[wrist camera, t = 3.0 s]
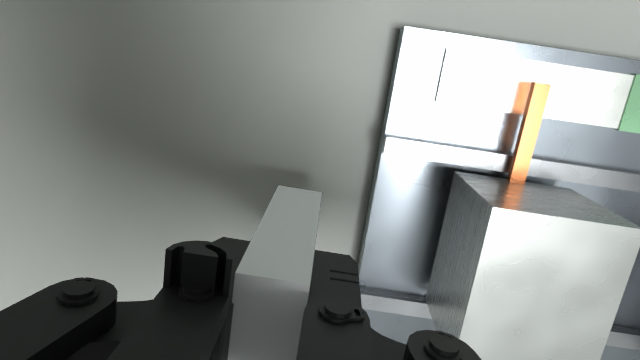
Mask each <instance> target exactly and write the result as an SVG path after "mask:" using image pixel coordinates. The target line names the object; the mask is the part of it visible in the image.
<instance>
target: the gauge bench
mask: <svg viewBox="0 0 640 360" xmlns="http://www.w3.org/2000/svg"><path fill="white" fill-rule="evenodd" d="M532 82H537V83H543V84H550V85H551V88H550V91H549V95H548V99H547V102H546V106H545V110H544V114H543V117H542V121H541V125H540V128H539V132H538V136H537V140H536V143H535V147H534V151H533V154H532V158H531V162H530V166H529V169H528V173H527V177H526V180H525V182H531V183H538V184H544V185H551V186H558V187H564V188H570V189H572V190H574V191H576V192H577V193H579V194H581V195H583V196H585V197H586V198H588V199H590V200H592V201H594V202H596V203H597V204H599V205H601V206H603V207H605V208H607V209H608V210H610V211H612V212H614V213H616V214H618V215H619V216H621V217H623V218H625V219H627V220H629V221H630V222H632V223H634V224H636V225H638V226H640V61H639V60H632V59H625V58H618V57H612V56H605V55H598V54H591V53H584V52H578V51H571V50H564V49H557V48H551V47H544V46H537V45H530V44H524V43H517V42H510V41H503V40H497V39H490V38H483V37H476V36H470V35H463V34H456V33H449V32H442V31H436V30H429V29H422V28H415V27H409V26H404V27H402V28H400V32H399V37H398V43H397V49H396V54H395V60H394V65H393V71H392V76H391V82H390V88H389V93H388V99H387V104H386V110H385V115H384V121H383V127H382V132H381V138H380V143H379V149H378V154H377V160H376V166H375V171H374V177H373V182H372V188H371V193H370V199H369V205H368V210H367V216H366V221H365V227H364V232H363V238H362V244H361V249H360V255H359V260H358V272H359V284H360V293H361V304H362V308H363V309H364V310H365V311H366V312H367V314H368V316H369V319H370V325H371V328H372V329H373V330H375V331H376V332H378V333H380V334H381V335H383V336H385V337H388V338H390V339H392V340H395V341H398V342H400V343H403V344H407V341H408V338H409V336H410V335H411V334H413V333H414V332H416V331H421V330H434V331H437V330H436V328H435V325H434V322H433V319H432V317H431V314H430V311H429V308H428V306H427V303H426V295H427V291H428V287H429V282H430V278H431V273H432V269H433V265H434V260H435V256H436V251H437V247H438V242H439V238H440V234H441V229H442V225H443V220H444V216H445V212H446V207H447V203H448V198H449V194H450V189H451V185H452V181H453V176H454V172H455V171H457V172H464V173H470V174H477V175H484V176H491V177H497V178H504V179H507V176H508V172H509V168H510V164H511V160H512V156H513V153H514V149H515V145H516V141H517V137H518V133H519V129H520V125H521V122H522V118H523V114H524V110H525V106H526V102H527V98H528V94H529V91H530V87H531V83H532ZM600 360H640V248H639V251H638V253H637V256H636V259H635V262H634V265H633V268H632V271H631V273H630V276H629V279H628V282H627V285H626V288H625V291H624V293H623V296H622V299H621V302H620V305H619V308H618V310H617V313H616V316H615V319H614V322H613V325H612V328H611V330H610V333H609V336H608V339H607V342H606V345H605V348H604V350H603V353H602V356H601V359H600Z"/></svg>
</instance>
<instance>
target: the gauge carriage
mask: <svg viewBox="0 0 640 360" xmlns="http://www.w3.org/2000/svg"><path fill="white" fill-rule="evenodd" d="M550 88H551V85H550V84H543V83H537V82H532V83H531V87H530V91H529V94H528V98H527V102H526V106H525V110H524V114H523V118H522V122H521V125H520V129H519V133H518V137H517V141H516V145H515V149H514V153H513V156H512V160H511V164H510V168H509V172H508V176H507V179H504V178H497V177H491V176H484V175H477V174H470V173H464V172H457V171H455V172H454V176H453V181H452V185H451V189H450V194H449V198H448V203H447V207H446V212H445V216H444V220H443V225H442V229H441V234H440V238H439V242H438V247H437V251H436V256H435V260H434V265H433V269H432V273H431V278H430V282H429V287H428V291H427V295H426V303H427V306H428V308H429V311H430V314H431V317H432V319H433V322H434V325H435V328H436V330H437V331H442V332H445V333H449V334H451V335H454V336H455V337H456V338H458V339H460V340H462V341H463V342H465V343H466V344H468V345H469V346H470V347H471V348H472V349H473V350H474V351H475V352H476V353H477V355H478V356H479V357H480V358H481V360H600V359H601V356H602V353H603V350H604V348H605V345H606V342H607V339H608V336H609V333H610V330H611V328H612V325H613V322H614V319H615V316H616V313H617V310H618V308H619V305H620V302H621V299H622V296H623V293H624V291H625V288H626V285H627V282H628V279H629V276H630V273H631V271H632V268H633V265H634V262H635V259H636V256H637V253H638V251H639V248H640V226H638V225H636V224H634V223H632V222H630V221H629V220H627V219H625V218H623V217H621V216H619V215H618V214H616V213H614V212H612V211H610V210H608V209H607V208H605V207H603V206H601V205H599V204H597V203H596V202H594V201H592V200H590V199H588V198H586V197H585V196H583V195H581V194H579V193H577V192H576V191H574V190H572V189H570V188H564V187H558V186H551V185H544V184H538V183H531V182H525V180H526V177H527V173H528V169H529V166H530V162H531V158H532V154H533V151H534V147H535V143H536V140H537V136H538V132H539V128H540V125H541V121H542V117H543V114H544V110H545V106H546V102H547V99H548V95H549V91H550Z"/></svg>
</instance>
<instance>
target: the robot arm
mask: <svg viewBox="0 0 640 360" xmlns="http://www.w3.org/2000/svg"><path fill="white" fill-rule="evenodd" d="M321 197H322V192H318V191H311V190H305V189H299V188H292V187H286V186H280V185H278V187H277V189H276V191H275V193H274V195H273V197H272V199H271V201H270V203H269V205H268V207H267V209H266V211H265V213H264V215H263V217H262V219H261V221H260V223H259V225H258V228H257V230H256V232H255V234H254V236H253V238H252V240H251V241H245V240H239V239H233V238H226V237H222V238H220V239H218V240H216V241H214V242H208V241H185V242H180V243H177V244H173V245H172V246H170V247H169V248H167V249H166V254H165V268H164V282H163V288H162V289H161V291H160V292H159V293H158V294H157V296H156V297H155V298H154V300H148V301H131V302H117V290H116V288H115V287H114V285H112V284H110V283H108V282H106V281H104V280H98V279H94V278H75V279H72V280H66V281H61V282H59V283H56V284H54V285H51V286H49V287H47V288H45V289H43V290H41V291H39V292H37V293H35V294H33V295H31V296H29V297H27V298H25V299H23V300H21V301H19V302H17V303H15V304H13V305H12V306H10V307H8V308H6V309H4V310H2V311H0V360H481V358H480V357H479V356H478V355H477V353H476V352H475V351H474V350H473V349H472V348H471V347H470V346H469V345H468V344H466V343H465V342H463V341H462V340H460V339H458V338H456V337H455V336H454V335H451V334H449V333H445V332H442V331H434V330H421V331H416V332H414V333H413V334H411V335H410V336H409V338H408V341H407V344H403V343H400V342H398V341H395V340H392V339H390V338H388V337H385V336H383V335H381V334H380V333H378V332H376V331H375V330H373V329H372V328H371V325H370V319H369V316H368V314H367V312H366V311H365V310H364V309H363V308H362V304H361V293H360V284H359V272H358V264H357V263H356V262H355V261H354V260H353V259H352V258H351V257H350V255H343V254H337V253H330V252H324V251H318V250H315V244H316V236H317V228H318V221H319V213H320V205H321Z"/></svg>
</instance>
